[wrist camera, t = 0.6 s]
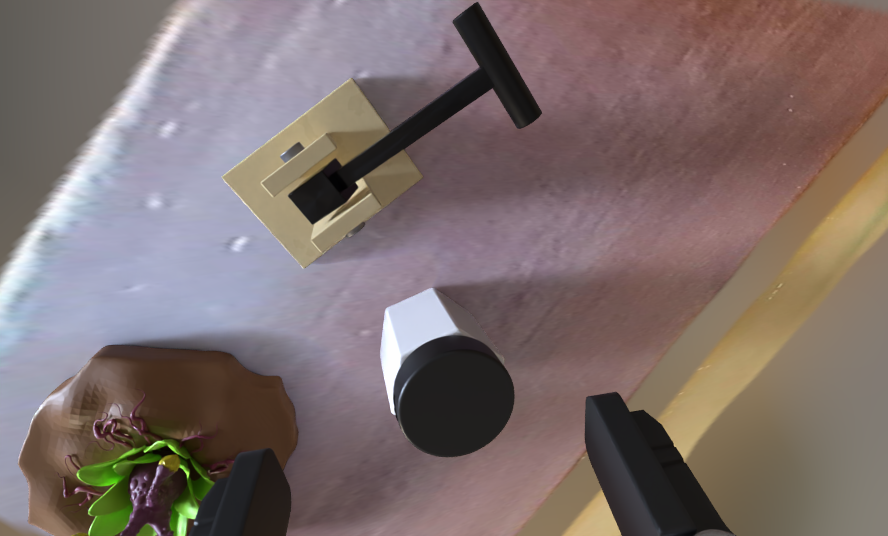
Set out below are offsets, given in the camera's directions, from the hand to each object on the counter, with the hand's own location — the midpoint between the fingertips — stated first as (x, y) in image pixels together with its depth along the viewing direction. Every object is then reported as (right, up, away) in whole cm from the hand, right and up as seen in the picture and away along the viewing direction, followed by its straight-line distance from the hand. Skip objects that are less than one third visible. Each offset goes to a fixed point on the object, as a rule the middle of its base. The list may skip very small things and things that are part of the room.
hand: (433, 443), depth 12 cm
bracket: (-9, +12, +25) cm, 29 cm away
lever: (-2, +12, +15) cm, 19 cm away
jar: (-1, -1, +31) cm, 31 cm away
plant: (-23, -11, +29) cm, 38 cm away
